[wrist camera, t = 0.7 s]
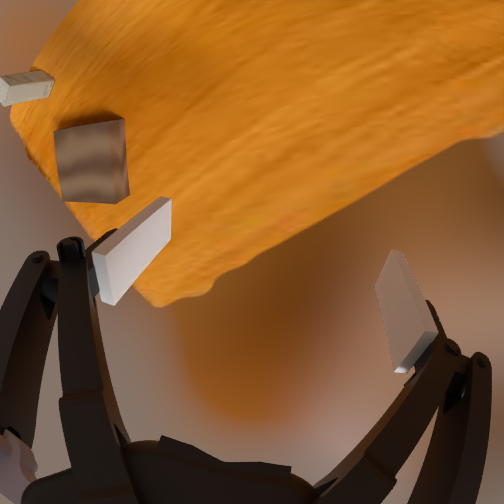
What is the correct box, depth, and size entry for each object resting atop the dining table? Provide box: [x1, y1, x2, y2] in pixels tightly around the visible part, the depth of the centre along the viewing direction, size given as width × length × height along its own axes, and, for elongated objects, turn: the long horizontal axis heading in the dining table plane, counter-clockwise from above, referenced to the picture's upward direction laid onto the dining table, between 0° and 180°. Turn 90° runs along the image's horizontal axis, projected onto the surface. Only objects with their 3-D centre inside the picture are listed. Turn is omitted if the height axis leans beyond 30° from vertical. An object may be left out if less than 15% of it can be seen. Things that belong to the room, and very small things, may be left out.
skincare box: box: [0, 71, 55, 107], centre depth 32 cm, size 6×4×12 cm
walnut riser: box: [54, 119, 130, 204], centre depth 42 cm, size 14×14×5 cm
